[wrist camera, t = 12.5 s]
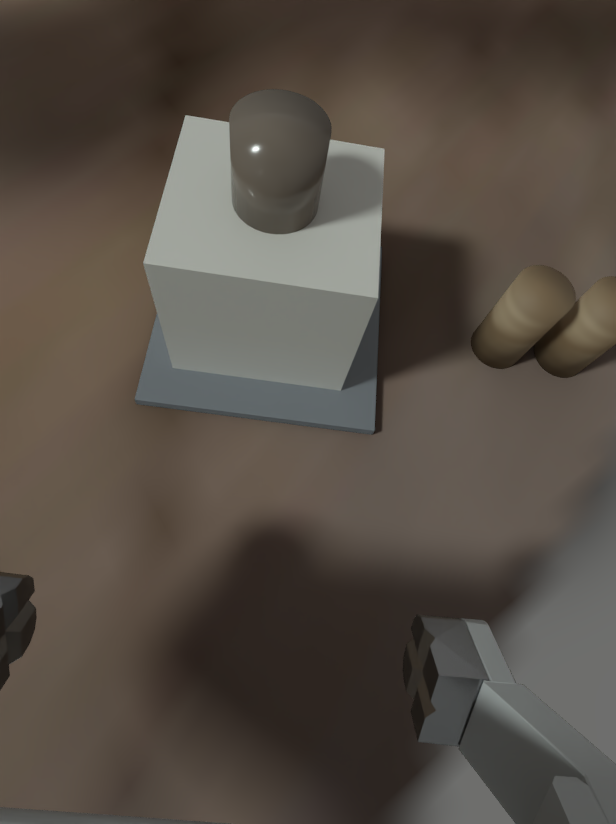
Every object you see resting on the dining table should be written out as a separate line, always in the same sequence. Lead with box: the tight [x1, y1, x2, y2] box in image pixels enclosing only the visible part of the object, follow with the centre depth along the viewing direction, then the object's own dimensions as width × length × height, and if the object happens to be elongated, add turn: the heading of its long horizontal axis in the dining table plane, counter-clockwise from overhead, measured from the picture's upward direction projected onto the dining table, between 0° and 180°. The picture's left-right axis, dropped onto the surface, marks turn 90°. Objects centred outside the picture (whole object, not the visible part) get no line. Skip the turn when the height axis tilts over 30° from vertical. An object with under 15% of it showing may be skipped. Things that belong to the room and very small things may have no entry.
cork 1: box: [471, 265, 576, 369], centre depth 20 cm, size 2×2×4 cm
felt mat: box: [135, 247, 382, 434], centre depth 21 cm, size 9×9×1 cm
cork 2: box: [534, 276, 616, 378], centre depth 20 cm, size 2×2×4 cm
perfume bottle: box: [143, 89, 384, 391], centre depth 16 cm, size 6×6×8 cm
